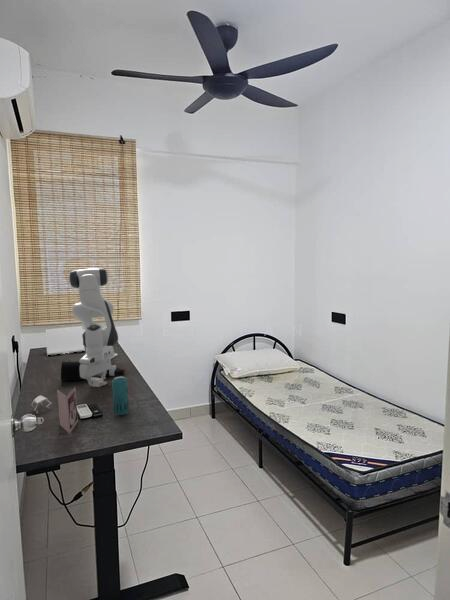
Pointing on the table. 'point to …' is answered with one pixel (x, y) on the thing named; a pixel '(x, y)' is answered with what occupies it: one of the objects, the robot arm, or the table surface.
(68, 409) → the greeting card
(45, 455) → the table surface
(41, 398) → the origami figure
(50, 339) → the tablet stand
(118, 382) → the beverage bottle
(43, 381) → the table surface
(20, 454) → the table surface
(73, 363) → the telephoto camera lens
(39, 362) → the table surface
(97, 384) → the usb plug
